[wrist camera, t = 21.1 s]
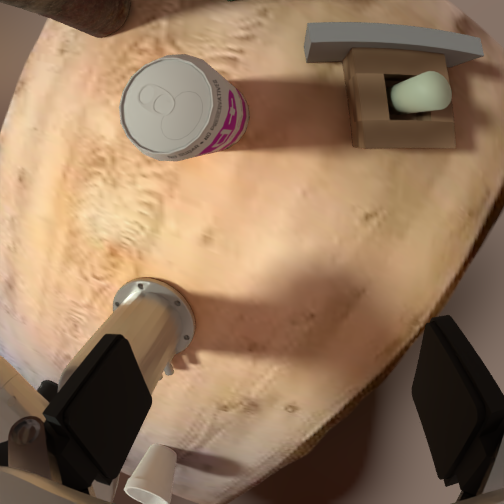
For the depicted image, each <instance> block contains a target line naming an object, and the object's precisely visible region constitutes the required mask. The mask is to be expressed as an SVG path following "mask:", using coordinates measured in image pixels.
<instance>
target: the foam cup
mask: <svg viewBox="0 0 504 504" xmlns="http://www.w3.org/2000/svg"><path fill="white" fill-rule="evenodd" d="M176 461H177V454H176V452H174V451H173V450H172V449H171V448H169V447H167V446H164V445H161V444H153V445H151V446H150V447H149V449H148V450H147V452H146V454H145V455H144V457H143V458H142V460H141V462H140V463H139V465H138V466H137V468H136V469H135V471H134V473H133V474H132V476H131V477H130V478H129V479H128V481H127V483H126V486H125V488H124V491H125V492H126V493H127V494H128V495H129V496H131V497H132V498H133V499H135V500H138V501H140V502H141V503H144V504H169V503H170V501H171V497H172V496H171V492H172V486H173V479H174V473H175V467H176Z"/></svg>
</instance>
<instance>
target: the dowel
mask: <svg viewBox="0 0 504 504" xmlns="http://www.w3.org/2000/svg"><path fill="white" fill-rule="evenodd" d="M386 94H387V102H388V110H389V113H391V114H393V115H402V114H409V113H417V112H425V111H433V110H441V109H444V108H446V107H447V106H448V105H449V104H450V102H451V98H452V91H451V87H450V85H449V83H448V81H447V80H446V79H445V77H444V76H442V75H441V74H439V73H437V72H435V71H427V72H425V73H422V74H420V75H417V76H415V77H412V78H410V79H407V80H405V81H403V82H400V83H398V84H395V85H393V86H391V87H388V88H387V89H386Z"/></svg>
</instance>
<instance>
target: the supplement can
mask: <svg viewBox="0 0 504 504" xmlns="http://www.w3.org/2000/svg"><path fill="white" fill-rule="evenodd" d="M119 111H120V121H121V125H122V127H123V129H124V131H125V134H126V136H127V137H128V138H129V139H130V141H131V142H132V143H133V144H134V145H135V146H136V147H137V148H138V149H139V150H140V151H141V152H142V153H143V154H145V155H147V156H149V157H152V158H154V159H156V160H159V161H180V160H184V159H188V158H192V157H197V156H201V155H205V154H210V153H214V152H218V151H221V150H225V149H228V148H230V147H231V146H232V145H234V144H235V143H237V142H238V141H239V140H240V138H241V137H242V136H243V134H244V133H245V131H246V129H247V125H248V122H249V108H248V104H247V102H246V100H245V98H244V96H243V94H242V93H241V92H239V91H238V90H237V89H236V88H235V87H234V86H233V85H232V84H230V83H229V82H228V81H227V80H226V79H225V78H224V77H222V76H221V75H220V74H219V73H218V72H217V71H216V70H214V69H213V68H212V67H211V66H210V65H208V64H207V63H206V62H205V61H204V60H202V59H199V58H196V57H193V56H189V55H186V54H180V55H166V56H164V57H162V58H159V59H157V60H155V61H152V62H150V63H148V64H146V65H144V66H143V67H142V68H140V69H139V70H138V71H137V72H136V73H135V74H134V75H133V76H132V77H131V78H130V80H129V82H128V83H127V85H126V87H125V88H124V90H123V93H122V97H121V101H120V106H119Z"/></svg>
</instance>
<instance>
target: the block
mask: <svg viewBox="0 0 504 504" xmlns="http://www.w3.org/2000/svg"><path fill="white" fill-rule="evenodd" d="M342 64H343V71H344V77H345V84H346V91H347V98H348V106H349V114H350V123H351V132H352V143H353V147H358V148H364V149H373V148H453V149H456V142H455V128H454V116H453V107H452V98H451V102H450V104H449V105H448V106H447V107H446V108H444V109H441V110H433V111H425V112H417V113H409V114H402V115H393V114H391V113H389V110H388V102H387V94H386V89H387V88H388V87H391V86H393V85H395V84H398V83H400V82H403V81H405V80H407V79H410V78H412V77H415V76H417V75H420V74H422V73H425V72H427V71H435V72H437V73H439V74H441V75H442V76H444V77H445V79H446V80H447V81H448V83H449V77H448V71H447V65H446V60H445V55H444V54H442V53H434V52H426V51H416V50H405V49H391V48H367V47H352V48H351V49H350V51H349V52H348V54H347V55H346V56H345V58H344V59H343V60H342ZM449 85H450V84H449Z"/></svg>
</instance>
